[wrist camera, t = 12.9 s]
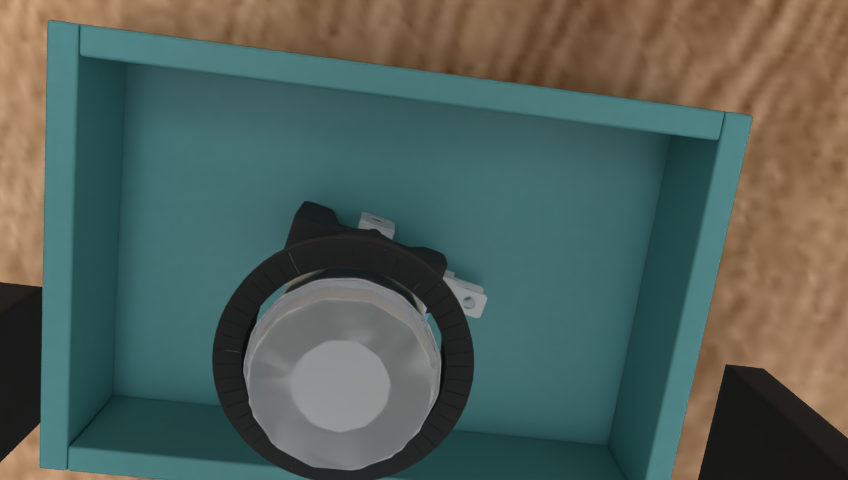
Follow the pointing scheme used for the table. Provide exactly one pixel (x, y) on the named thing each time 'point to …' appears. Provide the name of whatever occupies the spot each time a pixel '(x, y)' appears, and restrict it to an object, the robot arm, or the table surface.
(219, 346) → the push button
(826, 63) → the table surface
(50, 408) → the tray
